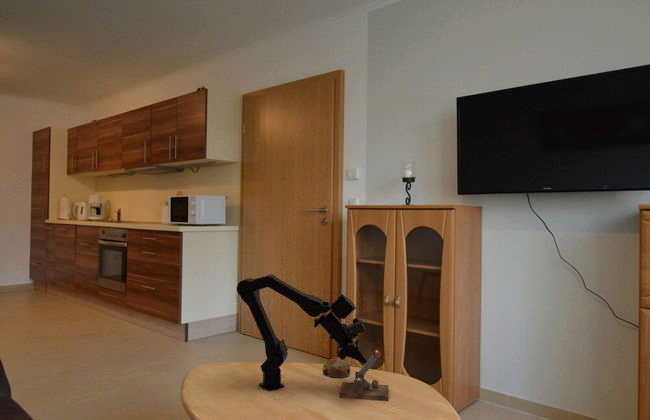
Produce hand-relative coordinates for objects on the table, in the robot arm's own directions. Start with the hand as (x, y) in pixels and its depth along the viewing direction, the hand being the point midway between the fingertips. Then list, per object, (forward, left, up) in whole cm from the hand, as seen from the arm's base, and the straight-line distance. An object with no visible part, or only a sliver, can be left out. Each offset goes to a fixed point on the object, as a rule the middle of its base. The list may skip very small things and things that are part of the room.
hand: (366, 362), depth 155 cm
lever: (-2, -1, -7) cm, 8 cm away
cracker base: (0, 0, -10) cm, 10 cm away
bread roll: (-20, +5, -11) cm, 23 cm away
